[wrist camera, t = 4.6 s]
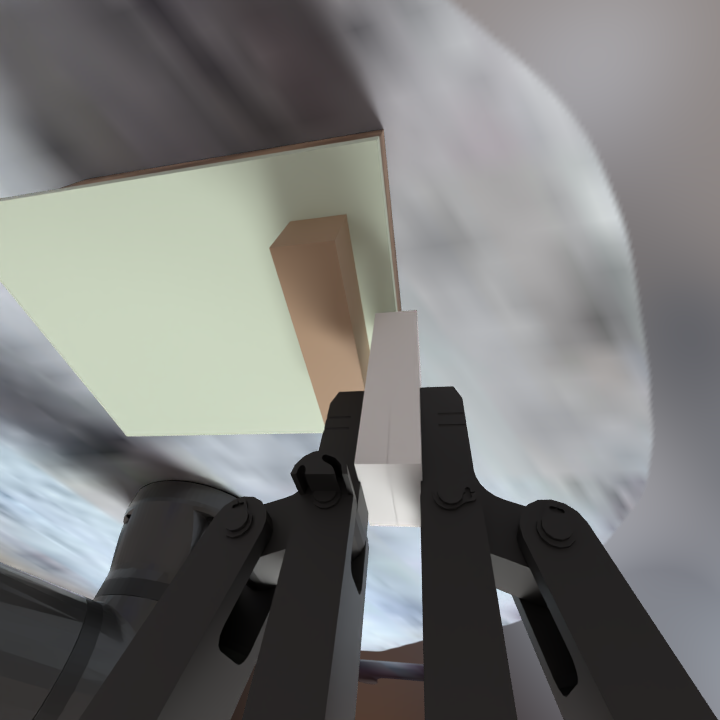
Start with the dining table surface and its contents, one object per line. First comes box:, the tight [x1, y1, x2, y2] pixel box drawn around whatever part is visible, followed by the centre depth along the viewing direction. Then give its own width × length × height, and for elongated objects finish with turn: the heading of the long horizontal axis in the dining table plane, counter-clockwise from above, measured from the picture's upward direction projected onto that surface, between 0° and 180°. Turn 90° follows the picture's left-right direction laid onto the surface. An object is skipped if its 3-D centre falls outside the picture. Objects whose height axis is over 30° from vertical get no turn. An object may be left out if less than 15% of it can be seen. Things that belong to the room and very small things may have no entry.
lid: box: [0, 136, 398, 436], centre depth 16 cm, size 17×13×3 cm
